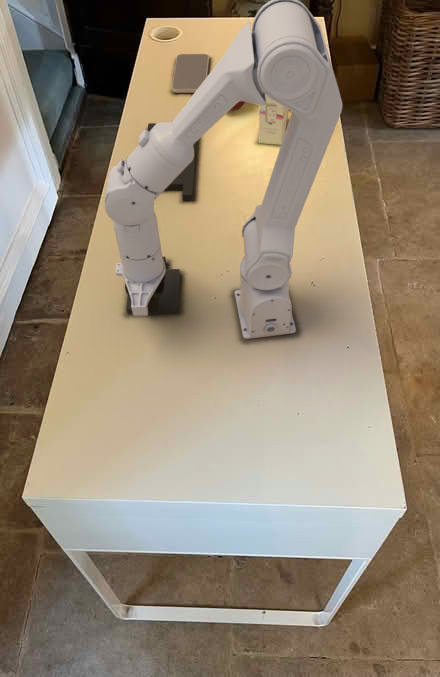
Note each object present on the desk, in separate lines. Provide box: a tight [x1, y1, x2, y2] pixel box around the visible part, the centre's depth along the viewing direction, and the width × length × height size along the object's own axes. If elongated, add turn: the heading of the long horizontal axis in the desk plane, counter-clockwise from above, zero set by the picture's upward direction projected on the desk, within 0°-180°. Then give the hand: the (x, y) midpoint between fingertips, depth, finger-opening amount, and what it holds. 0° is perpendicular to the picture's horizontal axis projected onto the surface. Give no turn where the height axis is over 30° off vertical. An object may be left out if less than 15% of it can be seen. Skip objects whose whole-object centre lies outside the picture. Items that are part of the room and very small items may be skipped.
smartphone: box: [171, 53, 210, 94], centre depth 134 cm, size 7×1×15 cm
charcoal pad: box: [125, 255, 181, 315], centre depth 96 cm, size 11×8×2 cm
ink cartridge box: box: [258, 94, 289, 146], centre depth 115 cm, size 9×5×15 cm, turn 168°
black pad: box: [146, 122, 198, 202], centre depth 115 cm, size 22×10×2 cm, turn 179°
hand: (151, 308), depth 93 cm, fingers closed, pressing on charcoal pad
